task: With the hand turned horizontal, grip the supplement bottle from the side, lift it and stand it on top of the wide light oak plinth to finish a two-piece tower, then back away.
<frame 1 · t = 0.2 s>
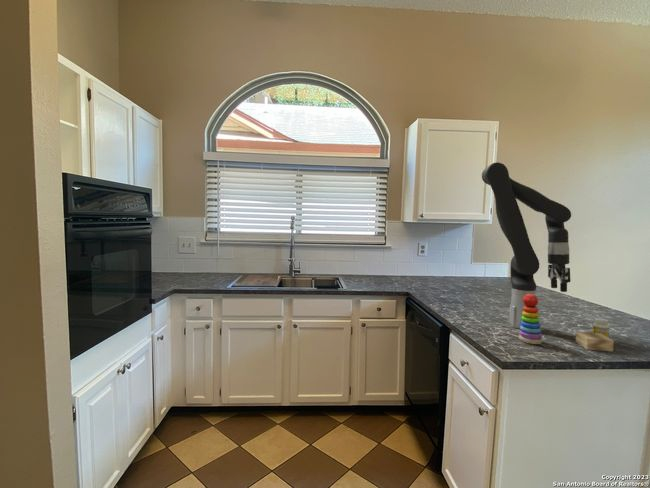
hand: (558, 289, 136), 18 cm above the counter, tool pointing down, fingers open, 8 cm apart
oak block: (593, 346, 118), on the counter
stacking toy: (530, 341, 123), on the counter
supplement bottle: (600, 340, 124), on the counter
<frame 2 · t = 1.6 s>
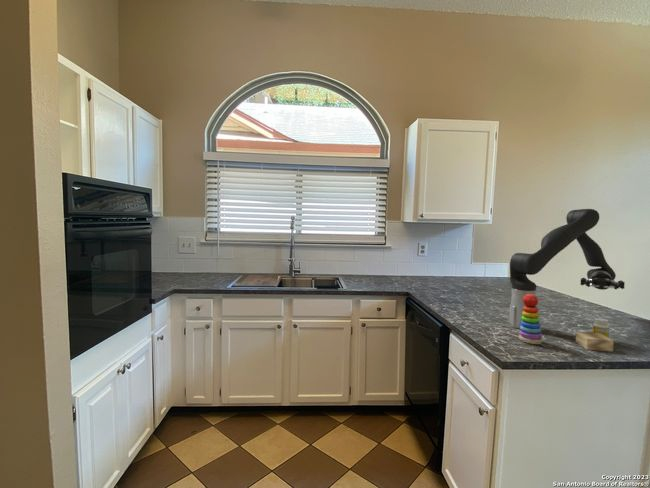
hand: (602, 285, 131), 20 cm above the counter, tool horizontal, fingers open, 8 cm apart
nothing on the counter moved.
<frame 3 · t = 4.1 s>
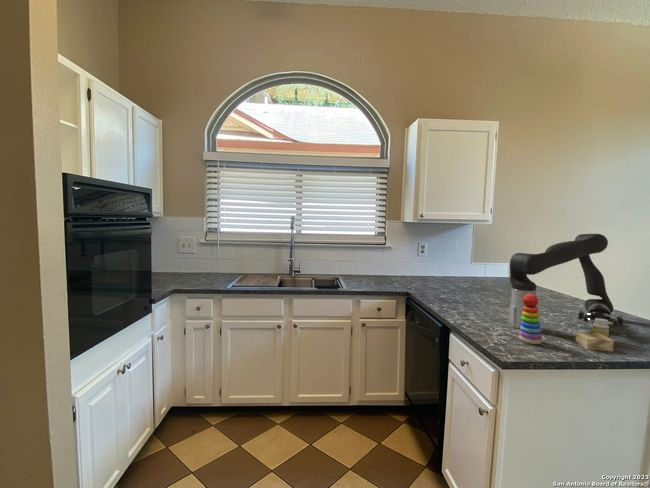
hand: (600, 321, 128), 6 cm above the counter, tool horizontal, fingers open, 8 cm apart
nothing on the counter moved.
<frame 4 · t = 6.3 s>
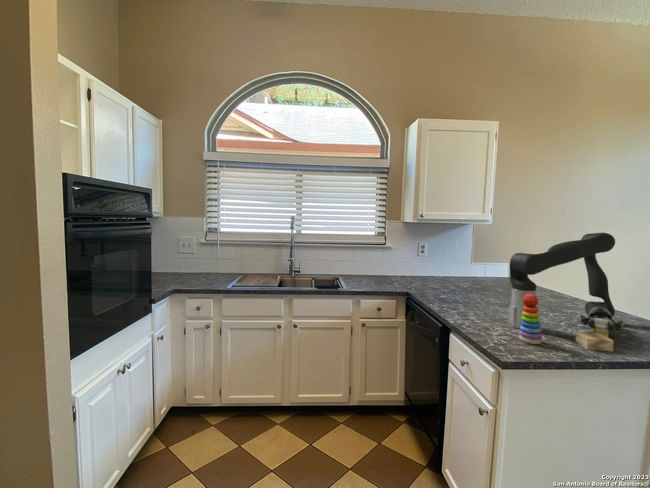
hand: (601, 327, 122), 6 cm above the counter, tool horizontal, fingers closed on supplement bottle, 4 cm apart
supplement bottle: (600, 340, 124), on the counter, touching gripper
everything else where it was.
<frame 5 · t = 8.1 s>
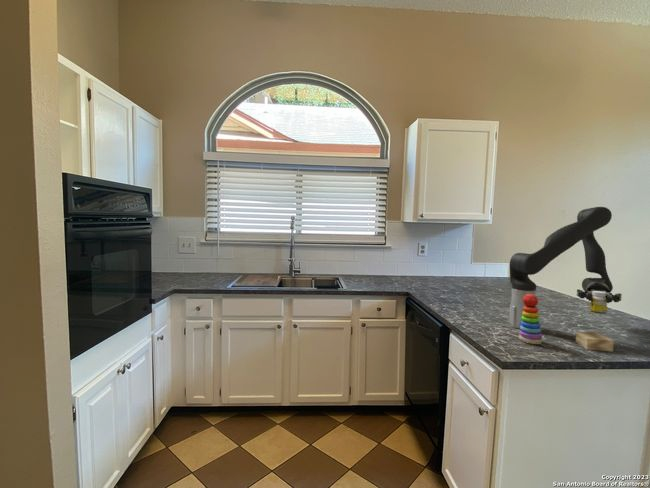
hand: (599, 299, 118), 18 cm above the counter, tool horizontal, fingers closed on supplement bottle, 4 cm apart
supplement bottle: (598, 313, 120), point 12 cm above the counter, touching gripper
everything else where it was.
when the fingers open (10 cm above the counter, at t = 9.9 s): supplement bottle stays where it is, resting on oak block.
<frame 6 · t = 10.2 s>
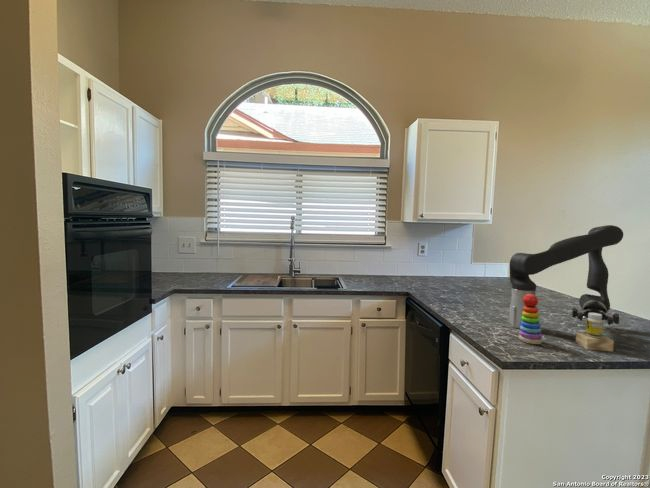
hand: (595, 320, 116), 11 cm above the counter, tool horizontal, fingers open, 7 cm apart
supplement bottle: (594, 336, 118), point 4 cm above the counter, touching oak block
everything else where it was.
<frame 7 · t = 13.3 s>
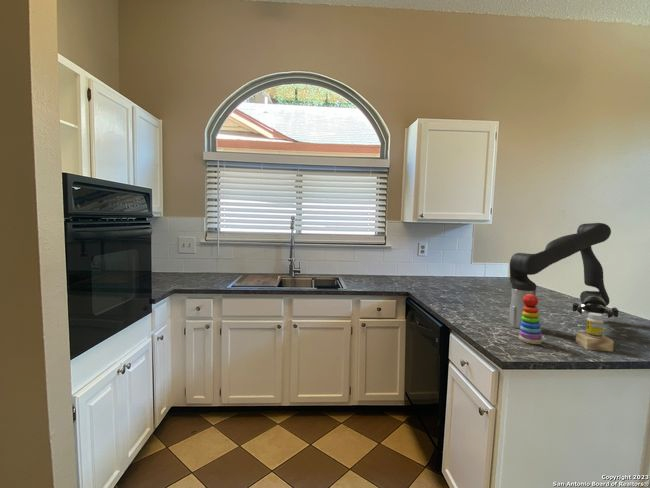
hand: (594, 313, 124), 11 cm above the counter, tool horizontal, fingers open, 8 cm apart
nothing on the counter moved.
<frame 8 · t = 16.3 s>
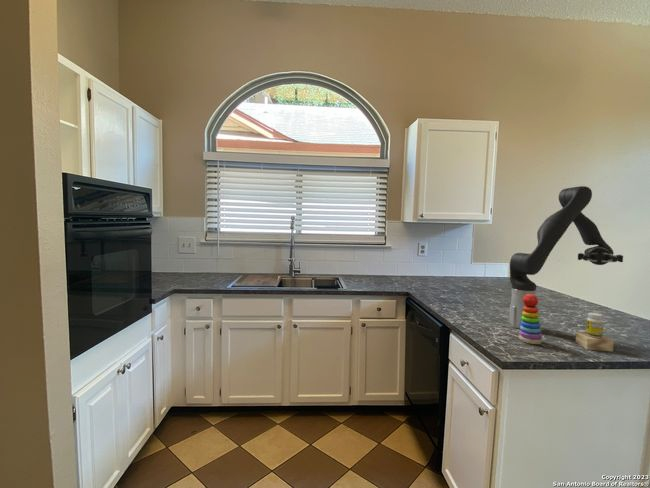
hand: (599, 258, 127), 32 cm above the counter, tool horizontal, fingers open, 8 cm apart
nothing on the counter moved.
at the end: supplement bottle 0.1 cm off-centre on the oak block, point 3.8 cm above the oak block's base; supplement bottle tilted 0°; the gripper is holding nothing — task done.
